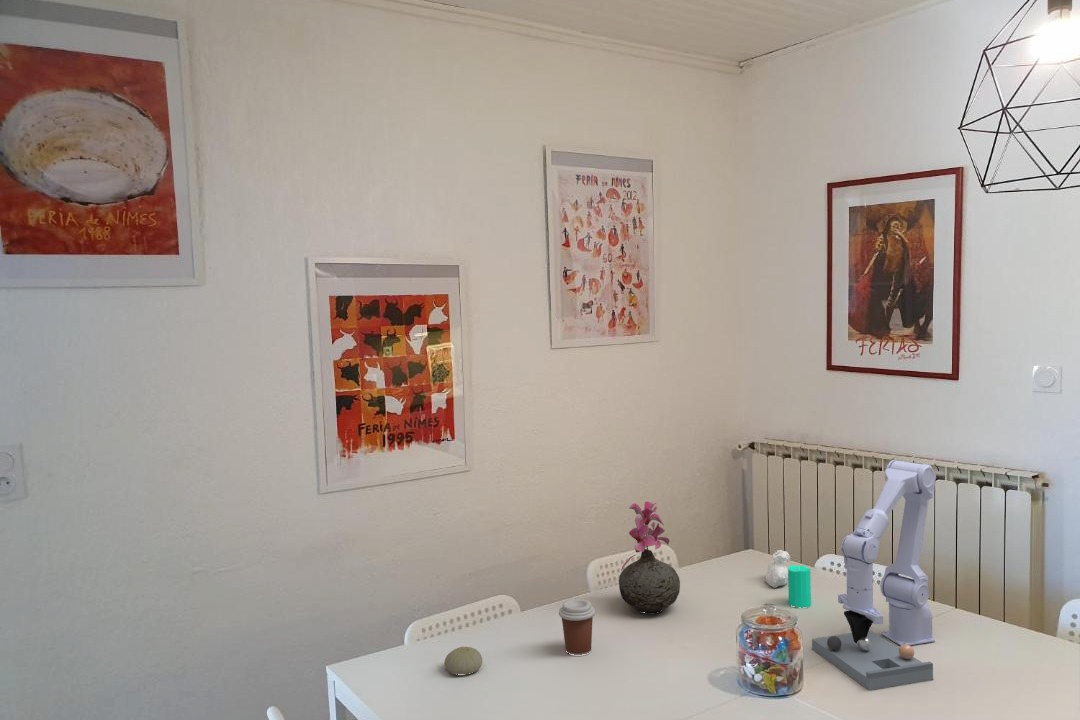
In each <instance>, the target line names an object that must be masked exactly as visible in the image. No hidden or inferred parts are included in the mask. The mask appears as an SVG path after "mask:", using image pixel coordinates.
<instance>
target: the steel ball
mask: <svg viewBox="0 0 1080 720" xmlns="http://www.w3.org/2000/svg"><path fill="white" fill-rule="evenodd" d="M857 646H858V648H859V649H860V650H862V651H868V650H870V649H871V647H872V643H871V641H870V639H868V638H867V637H861V638H859V639H858V641H857Z"/></svg>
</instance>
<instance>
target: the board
mask: <svg viewBox="0 0 1080 720" xmlns="http://www.w3.org/2000/svg"><path fill="white" fill-rule="evenodd" d="M831 636H832V635H829V636H822V637H817V638H816V637H815V638H812V639H811V649H812V650H813V651H815V652H816V653H817V654H818V655H820V656H821V657H823V658H824V659H826V660H827V661H828V662H830V663H831V664H832V665H833V666H835V667H836V668H838V669H839V670H841V671H842V672H843V673H845V674H846V675H847V676H849V677H850V678H852V679H853V680H855V681H856V682H857V683H859V684H860V685H861V686H863V687H864V688H865V689H866V690H868V691H874V690H880V689H887V688H892V686H893V687H898V685H899V686H904V685H903V684H905V685H909V683H911V684H917V683H922V681H923V682H928V681H927V680H929V681H933V680H934V664H933V662H931V661H925V662H924V661H921V660H919V659H918V658H917V657H915V656H913V657H912V658H911V659H904V658H902V657H901V656H900V654H899V648H900V647H898V646H896V645H894V644H893V643H891V642H890V641H889V640H886V639H885V638H883V637H881V636H880V635H878V634H877V633H875V632H873V631H871V629H869V632H868V635H867V638H868V639H870V641H871V643H872V647H871V649H870V650H868V651H862V650H860V649H859V648H858V646H857V643H855V642H854V640H853V636H852V632H850V633H843V634H836V635H834V636H836V637H838V638H839V639H840V640H841V644H842V645H841V648H840V649H839V650H831V649H830V648H829V647H828V645H827V640H828V638H829V637H831ZM916 682H917V683H916ZM886 687H887V688H886Z"/></svg>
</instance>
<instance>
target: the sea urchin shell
mask: <svg viewBox="0 0 1080 720" xmlns="http://www.w3.org/2000/svg"><path fill="white" fill-rule="evenodd" d="M482 664H483V657H482V654H481V652H480V651H479V650H478V649H477V648H474V647H471V646H460V647H457V648H455V649H453V650H451V651H450V652H448V654H447V655H445V659H444V667H445V669H446V671H447V672H448V673H450V674H451V673H453V674H452V675H454V674H457V675H458V674H469V673H472V672H476V671H477V672H479V670H480V669H481V668H482V666H483V665H482ZM477 672H476V673H477Z"/></svg>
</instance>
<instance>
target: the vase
mask: <svg viewBox="0 0 1080 720" xmlns="http://www.w3.org/2000/svg"><path fill="white" fill-rule="evenodd" d="M656 504H657V502H654V503H653V502H649V501H645V503H644V508H643V510H642V508H641V507H640V506H639V504H637V503H635V502H634V503H632V504H630V506H629V508H628V509H631V510H634V513H635V514H636V515H637V516H636V517H635V519H634V523H635V526H636V527H633V528H632V529H631V530H630V531H628V533H629V535H630V537H632V538H633V539H634V540H636V543H635V544H634V550H635V551H634V552H635V553H640V557H639V558H638V559H637V560H636V561H633V562H632V563H630V564H628V565H627V563H628V562H629V561H630V560H631V559H632V558H633V557H634V556H636V554H633V555H632V556H630V557H629V558H627V560H626V561H625V562H623V565H622V567H621V569H620V575H619V577H618V586H619V593H620V597H621V598H622V601H624V603H626V604H627V605H629V606H630V607H632V608H634V609H636V610H639V611H641V612H645V613H657V612H660V611H661V610H662V611H663V610H666V608H668V607H671V605H673V604H674V603H675V602H676V601H677V599H678V596H679V594H680V591H681V590H680V589H681V580H680V577H679V574H678V573H677V571H676V570H675V568H673V567H672V566H671V565H670V564H668V563H666V562H663V561H661V560H659V559H657V558H656V557H655V556H654V553H653V551H652V550H650V549H649V547H653V546H654V545H655V548H654V549H655V550H657V549H660V548H661V546H662V544H661V542H660V541H662V542H664V543H665V544H667V546H668V545H669V543H670V538H669V537H666V536H661V535H662V534H663V533H664V532H665V529H664V528H663V527H661V526H660V524H661V525H662V526H664V522H663V520H662V519H661V517H660V516H659V515H658V514H657V513H656V512H657V509H658V506H655V505H656ZM652 521H657V522H658V523H657V524H656V522H652ZM650 522H652V523H651V524H650ZM659 523H660V524H659ZM649 525H650V526H651V527H649ZM626 565H627V566H626ZM625 566H626V567H625ZM639 611H638V612H639ZM662 611H661V612H662ZM641 612H640V613H641ZM661 612H660V613H661ZM645 613H644V614H645ZM657 614H658V613H657Z"/></svg>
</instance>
